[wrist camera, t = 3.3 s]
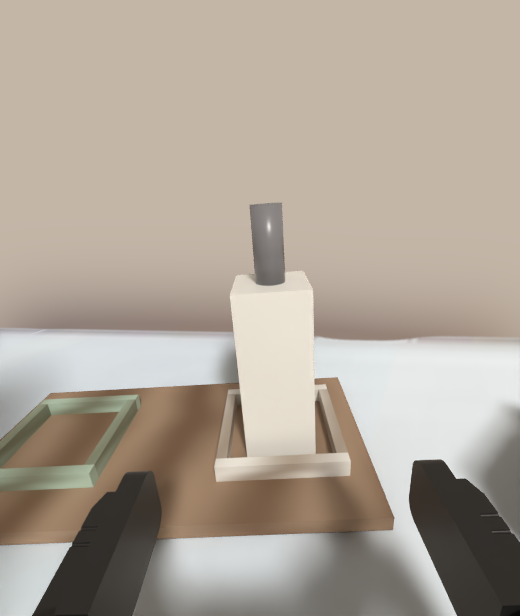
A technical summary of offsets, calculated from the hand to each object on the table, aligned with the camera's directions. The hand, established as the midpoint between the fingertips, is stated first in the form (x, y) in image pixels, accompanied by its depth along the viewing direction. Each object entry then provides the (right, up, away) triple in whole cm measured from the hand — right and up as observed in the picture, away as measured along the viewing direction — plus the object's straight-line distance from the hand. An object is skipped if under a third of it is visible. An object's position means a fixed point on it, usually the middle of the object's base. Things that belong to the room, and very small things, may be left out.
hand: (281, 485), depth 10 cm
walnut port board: (-6, -4, +11) cm, 13 cm away
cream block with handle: (+1, -2, +11) cm, 11 cm away
